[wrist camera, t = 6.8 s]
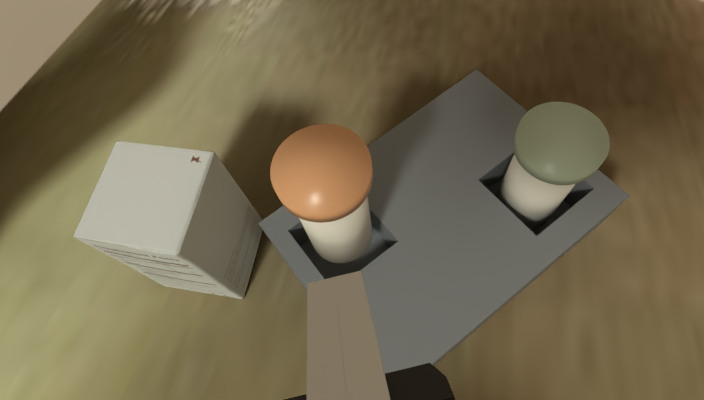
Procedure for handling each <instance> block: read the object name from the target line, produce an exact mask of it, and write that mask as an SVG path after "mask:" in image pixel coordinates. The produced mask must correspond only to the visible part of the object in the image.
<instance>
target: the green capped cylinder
mask: <svg viewBox="0 0 704 400" xmlns="http://www.w3.org/2000/svg"><path fill="white" fill-rule="evenodd" d="M609 149H610V139H609V134H608V132H607V129H606V128H605V126H604V124H603V123H602V122H601V120H600V119H599V118H598V117H597V116H596V115H594V114H593V113H592V112H590V111H589V110H587V109H585V108H583V107H581V106H579V105H576V104H572V103H568V102H548V103H543V104H540V105H538V106H536V107H534V108H532V109H530V110H529V111H528V112H527V113H526V114H525V115H524V116H523V117H522V119H521V121H520V123H519V125H518V127H517V130H516V132H515V135H514V138H513V150H514V156H513V158H512V160H511V162H510V165H509V167H508V169H507V171H506V174H505V176H504V178H503V180H502V183H501V185H500V187H499V189H498V192H497V194H496V197H497V198H498V199H499V200H500V201H501V202H502V203H503V204H504V205H505V206H506V207H507V208H508V209H509V210H510V211H511V212H512V213H513V214H514V215H515V216H516V217H518V218H519V219H520V220H521V221H522V222H523V223H524V224H525V225H526V226H527V227H528V228H529V229H530V230H532V229H536V228H539V227H541V226H542V225H544V224H545V223H546V222H547V221H548V219H549V218H550V217H551V215H552V214H553V213H554V211H555V210H556V209H557V208H558V206H559V205H560V204H561V202H562V201H563V200H564V198H565V197H566V196H567V195H568V193H569V192H570V191H571V189H572V188H573V187H574V185H575V184H577V183H580V182H582V181H584V180H586V179H588V178H589V177H591V176H592V175H593V174H594V173H595V172H596V171H597V169H598V168H599V167H600V166H601V164H602V163H603V162H604V161H605V159H606V157H607V155H608V153H609Z"/></svg>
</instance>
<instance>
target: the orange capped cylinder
mask: <svg viewBox="0 0 704 400" xmlns="http://www.w3.org/2000/svg"><path fill="white" fill-rule="evenodd" d="M270 177H271V182H272V186H273V188H274V190H275V192H276V194H277V196H278V198H279V199H280V201H281V203H282V204H283V206H284V207H285V208H286V209H287V210H288V211H289V212H290V213H292V214H293V215H295V216H296V217H298V218H299V219H300V221H301V223H302V225H303V227H304V229H305V231H306V233H307V235H308V237H309V239H310V241H311V243H312V245H313V247H314V249H315V251H316V252H317V253H318V254H319V255H320V256H321V257H322V258H323V259H325V260H327V261H329V262H332V263H348V262H352V261H354V260H356V259H358V258H359V257H361V256H362V255H363V254H364V253H365V252H366V251H367V249H368V247H369V246H370V243H371V240H372V226H371V218H370V211H369V204H368V197H367V196H368V194H369V192H370V190H371V187H372V182H373V169H372V159H371V155H370V152H369V149H368V147H367V146H366V144H365V142H364V141H363V140H362V139H361V138H360V137H359V136H358V135H357V134H355V133H354V132H353V131H351V130H349V129H347V128H344V127H342V126H338V125H333V124H317V125H312V126H308V127H305V128H303V129H300V130H298V131H296V132H295V133H293V134H292V135H290V136H289V137H288V138H287V139H285V140H284V141H283V142H282V144H281V145H280V146H279V147H278V149H277V151H276V152H275V154H274V156H273V159H272V162H271V168H270Z"/></svg>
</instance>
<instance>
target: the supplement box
mask: <svg viewBox="0 0 704 400" xmlns="http://www.w3.org/2000/svg"><path fill="white" fill-rule="evenodd" d="M261 221H262V218H261V217H260V215H259V214H258V213H257V211H256V210H255V208H254V207H253V206H252V204H251V203H250V201H249V200H248V199H247V197H246V196H245V194H244V193H243V192H242V190H241V189H240V187H239V186H238V185H237V183H236V182H235V180H234V179H233V177H232V176H231V175H230V173H229V172H228V170H227V169H226V168H225V166H224V165H223V164H222V162H221V161H220V159H219V158H218V156H217V155H216V154H215V152H214V151H203V150H193V149H185V148H176V147H168V146H159V145H150V144H141V143H133V142H123V141H117V142H116V143H115V145H114V148H113V150H112V152H111V155H110V157H109V159H108V161H107V163H106V166H105V168H104V170H103V172H102V174H101V177H100V179H99V181H98V183H97V185H96V187H95V190H94V192H93V194H92V196H91V198H90V201H89V203H88V205H87V207H86V209H85V211H84V214H83V216H82V218H81V220H80V222H79V225H78V227H77V229H76V231H75V233H74V235H73V237H74V238H76V239H78V240H80V241H82V242H83V243H85V244H87V245H89V246H91V247H93V248H95V249H97V250H98V251H100V252H102V253H104V254H106V255H108V256H110V257H112V258H114V259H116V260H118V261H120V262H122V263H123V264H125V265H127V266H129V267H131V268H132V269H134V270H136V271H138V272H140V273H141V274H143V275H145V276H147V277H149V278H151V279H152V280H154V281H156V282H158V283H160V284H161V285H163V286H166V287H172V288H178V289H185V290H191V291H197V292H202V293H208V294H214V295H220V296H226V297H232V298H238V299H243V298H244V296H245V292H246V289H247V285H248V282H249V278H250V275H251V271H252V267H253V264H254V260H255V257H256V253H257V249H258V246H259V242H260V239H261V235H262V231H263V230H262V228H261V227H260V225H259V224H258V223H259V222H261Z"/></svg>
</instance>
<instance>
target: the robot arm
mask: <svg viewBox="0 0 704 400" xmlns="http://www.w3.org/2000/svg"><path fill="white" fill-rule="evenodd" d="M285 400H455V398H454V395H453V392H452V390H451V388H450V385H449V383H448V380H447V378H446V377H445V376H444V375H443V374H442V373H441V372H440V371H439V370H438V369H436V368H435V367H434V366H433V365H432V364H431V363H426V364H422V365H418V366H414V367H410V368H406V369H402V370H398V371H394V372H389V373H385V371H384V366H383V362H382V358H381V353H380V349H379V345H378V341H377V337H376V332H375V328H374V324H373V320H372V316H371V311H370V307H369V303H368V299H367V295H366V291H365V286H364V282H363V278H362V274H361V271H357V272H353V273H349V274H345V275H340V276H336V277H332V278H328V279H324V280H320V281H315V282H311V283H307V394H306V395H302V396H297V397H293V398H289V399H285Z"/></svg>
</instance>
